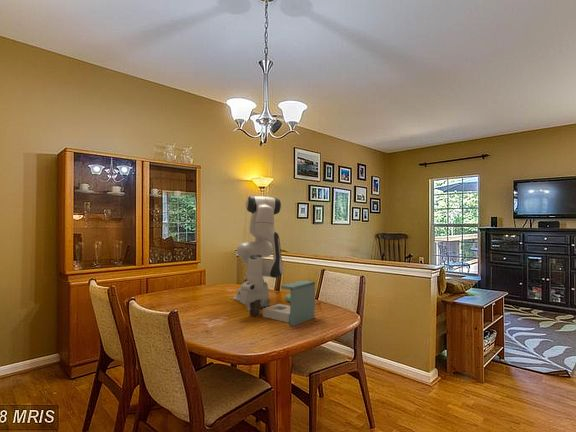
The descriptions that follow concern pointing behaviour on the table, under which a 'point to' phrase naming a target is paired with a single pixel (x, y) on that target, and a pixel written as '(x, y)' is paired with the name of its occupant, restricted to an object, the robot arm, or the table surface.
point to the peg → (255, 308)
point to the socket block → (277, 312)
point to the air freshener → (266, 302)
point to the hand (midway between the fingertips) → (254, 308)
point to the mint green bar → (288, 297)
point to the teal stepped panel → (301, 301)
